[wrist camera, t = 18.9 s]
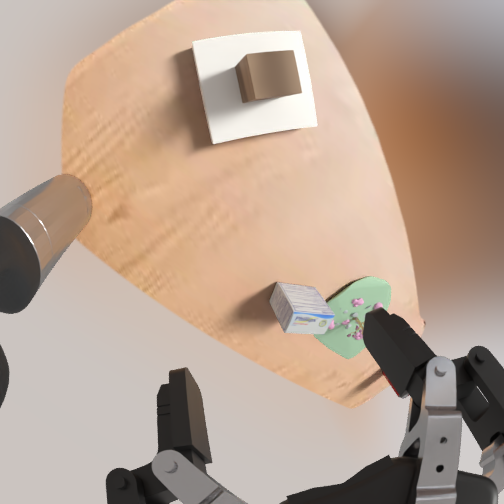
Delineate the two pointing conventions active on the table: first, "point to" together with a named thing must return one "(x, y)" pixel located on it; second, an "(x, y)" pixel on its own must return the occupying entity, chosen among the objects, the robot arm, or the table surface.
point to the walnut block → (268, 75)
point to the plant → (354, 315)
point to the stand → (228, 93)
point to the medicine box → (300, 309)
